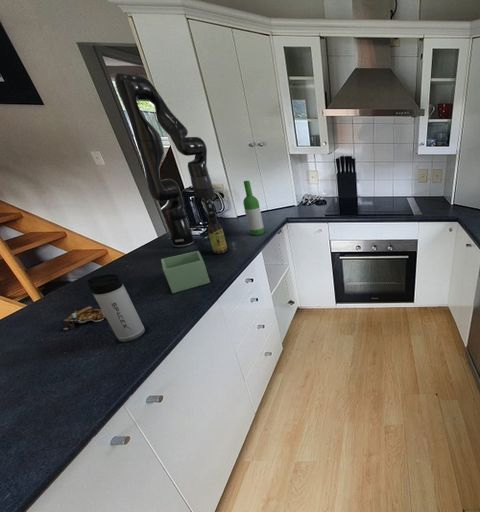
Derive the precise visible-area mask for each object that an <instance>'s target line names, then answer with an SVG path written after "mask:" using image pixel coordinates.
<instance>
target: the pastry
mask: <svg viewBox="0 0 480 512" xmlns="http://www.w3.org/2000/svg"><path fill="white" fill-rule="evenodd" d="M92 308H93V307H92V306H86V307H84V308H83V309H80V310H75V311H73V312H72V313H71V314H70V315H68V316H67V317H64V319H63V321H64V323H65V324H68V325H69V326H67V327H63V331H69V330H75V328H76V325H75V324H76V323H78V324H84V323H86V322H90V321H93V322H94V323H97V322H102V321H103V320H104V319H106V317H105V315H104V313H103V311H102V310H101V308H95V309H92Z"/></svg>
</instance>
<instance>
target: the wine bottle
mask: <svg viewBox="0 0 480 512" xmlns="http://www.w3.org/2000/svg"><path fill="white" fill-rule="evenodd" d="M243 186H244V190H245V195H246V196H245V197H244V199H243V202H242V203H243V208H244V213H245V219H246V222H247V227H248V231H249V234H250V235H251V236H261V235H263V234H265V227H264V223H263V216H262V211H261V208H260V202H259V200H258V199H257V197H255V196H254V195H253V191H252V186H251V181H250V180H244V181H243Z"/></svg>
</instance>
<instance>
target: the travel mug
mask: <svg viewBox="0 0 480 512" xmlns="http://www.w3.org/2000/svg"><path fill="white" fill-rule="evenodd" d="M86 282H87V286H88V287H89V289H90V290H91V294H92V295H93V297H94V299H95V301H96V303H97V304H98V306H99V307H100V308H99V309H101V310H102V311H103V313H104V315H105V317H106V318H105V319H106V320H107V322H108V324H109V326H110V327H111V329H112V331H113V333H114V334H115V337H116V338H117V340H118V341H119V342H121V343H126V342H131V341H133V340H136V339H138V338H140V337H141V336H143V335H144V333H145V332H146V328H145V327H144V324H143V322H142V320H141V318H140V316H139V314H138V312H137V310H136V308H135V306H134V303H133V302H132V299H131V297H130V295H129V293H128V292H127V289H126V287H125V286H124V283H123V282H122V279H121V277H120V276H119V275H118V274H113V273H112V274H111V273H110V274H103V275H98V276H92V277H90V278H88V279H87V280H86Z"/></svg>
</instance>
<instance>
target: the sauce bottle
mask: <svg viewBox="0 0 480 512" xmlns="http://www.w3.org/2000/svg"><path fill="white" fill-rule="evenodd" d="M210 213H213V212H210ZM205 215H206V217H207V220H208V224H207V226H206V227H207V228H206V229H207V234H208V237H209V241H210V245H211V249H212V252H213V253H214V254H218V255H219V254H224V253H227V251H228V246H227V242H226V236H225V232H224V229H223V227H222V226H221V224H220V222H219V220H218V216H217V215H218V214H217V212H216V211H215V219H216V224H211V222H210V219H209V216H208V213H206V212H205Z"/></svg>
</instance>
